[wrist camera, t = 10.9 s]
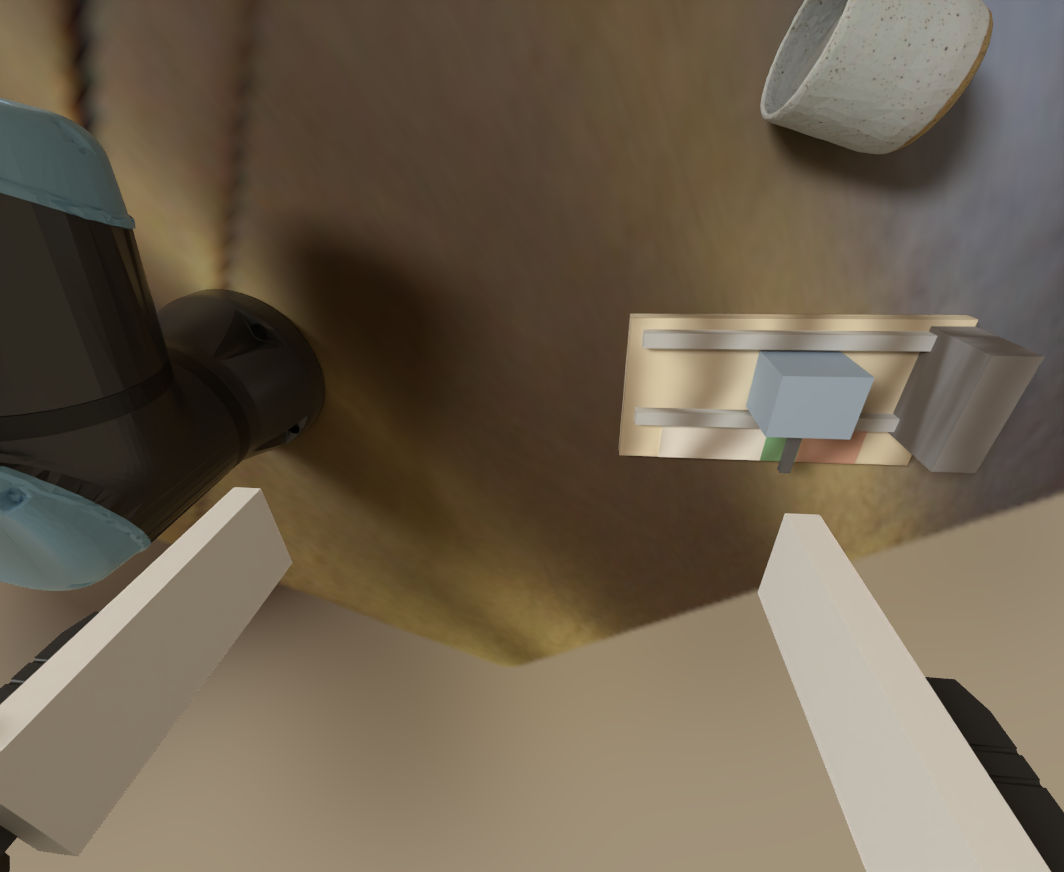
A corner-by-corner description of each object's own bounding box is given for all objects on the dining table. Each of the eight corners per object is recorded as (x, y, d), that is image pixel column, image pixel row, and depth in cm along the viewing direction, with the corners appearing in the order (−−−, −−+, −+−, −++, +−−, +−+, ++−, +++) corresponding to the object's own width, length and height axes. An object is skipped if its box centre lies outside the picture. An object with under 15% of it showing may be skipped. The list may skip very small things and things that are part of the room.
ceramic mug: (859, 163, 30) (936, 161, 24) (744, 125, 30) (789, 112, 23) (982, -56, 25) (1126, -138, 18) (843, -107, 24) (939, -209, 18)
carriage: (735, 448, 41) (752, 482, 37) (759, 350, 36) (782, 376, 32) (806, 451, 40) (831, 485, 36) (840, 351, 35) (874, 377, 31)
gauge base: (618, 448, 44) (623, 495, 38) (630, 313, 37) (638, 344, 31) (899, 457, 41) (953, 510, 35) (966, 315, 34) (1049, 349, 28)
